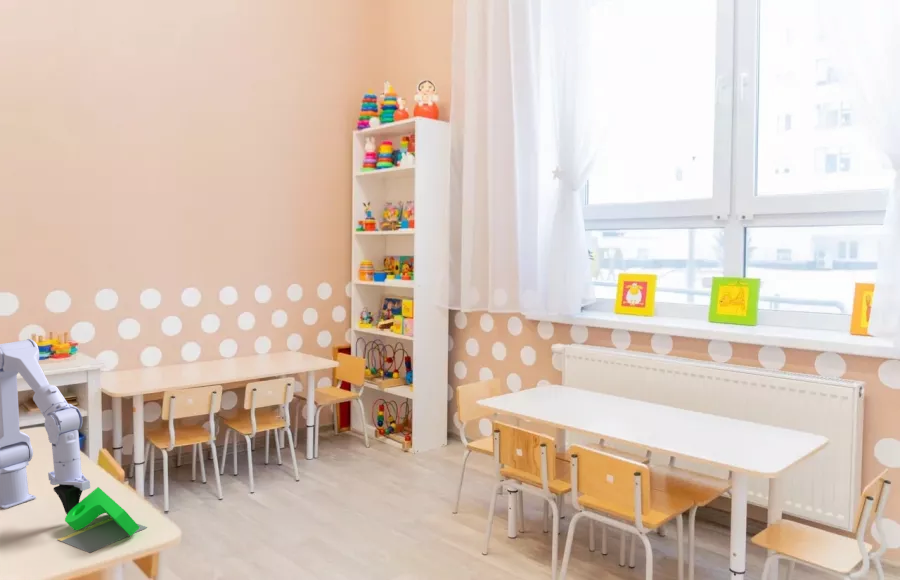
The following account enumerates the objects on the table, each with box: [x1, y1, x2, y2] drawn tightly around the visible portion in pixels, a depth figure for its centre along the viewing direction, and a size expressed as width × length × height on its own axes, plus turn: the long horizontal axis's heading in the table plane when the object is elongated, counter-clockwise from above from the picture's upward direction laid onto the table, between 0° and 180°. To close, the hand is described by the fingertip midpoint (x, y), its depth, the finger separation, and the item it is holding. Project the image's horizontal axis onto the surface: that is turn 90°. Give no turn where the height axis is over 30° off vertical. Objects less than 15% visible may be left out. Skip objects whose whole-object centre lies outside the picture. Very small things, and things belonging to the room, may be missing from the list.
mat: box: [57, 517, 148, 554], centre depth 160 cm, size 13×14×1 cm
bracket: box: [64, 486, 140, 537], centre depth 161 cm, size 20×10×7 cm
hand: (71, 513), depth 167 cm, fingers closed
